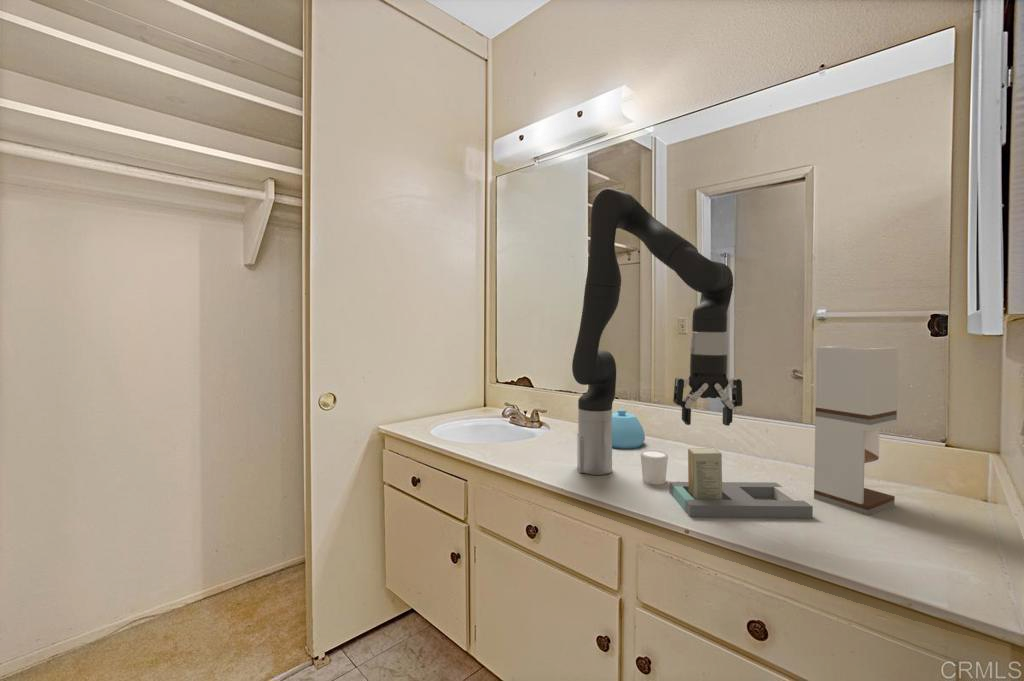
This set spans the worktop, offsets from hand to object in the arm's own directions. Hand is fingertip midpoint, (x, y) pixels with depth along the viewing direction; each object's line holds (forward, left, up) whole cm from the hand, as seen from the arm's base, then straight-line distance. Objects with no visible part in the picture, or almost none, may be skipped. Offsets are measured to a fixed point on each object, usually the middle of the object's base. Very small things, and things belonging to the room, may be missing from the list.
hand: (706, 424), depth 100 cm
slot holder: (+7, 0, -18) cm, 19 cm away
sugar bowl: (-8, +51, -18) cm, 55 cm away
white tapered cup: (-7, +15, -18) cm, 25 cm away
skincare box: (0, 0, -18) cm, 18 cm away
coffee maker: (+34, +2, -18) cm, 38 cm away
